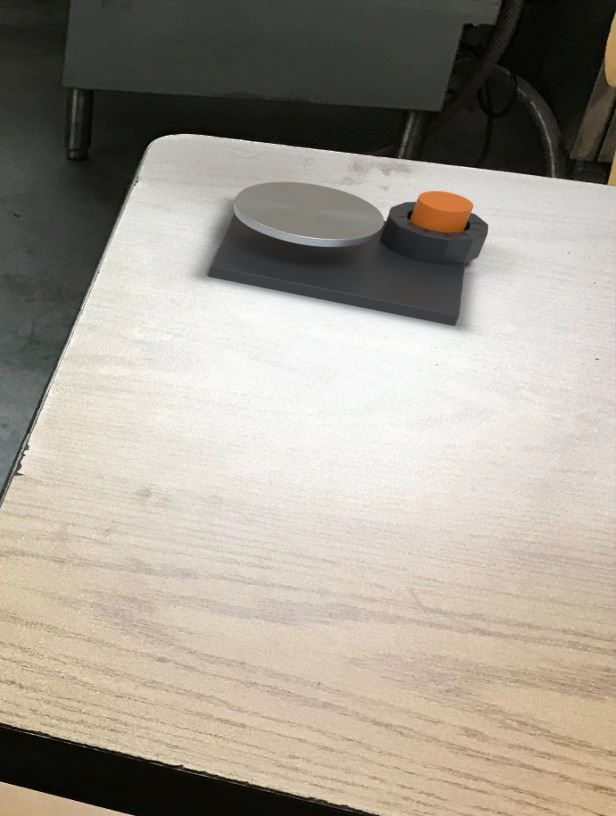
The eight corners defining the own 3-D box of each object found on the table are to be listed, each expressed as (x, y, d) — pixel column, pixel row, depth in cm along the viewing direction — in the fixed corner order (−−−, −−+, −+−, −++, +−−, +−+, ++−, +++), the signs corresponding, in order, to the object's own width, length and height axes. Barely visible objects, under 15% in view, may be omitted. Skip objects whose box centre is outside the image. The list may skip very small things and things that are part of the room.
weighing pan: (387, 205, 98) (390, 197, 97) (374, 259, 91) (378, 250, 90) (244, 180, 101) (247, 172, 100) (222, 230, 94) (224, 221, 93)
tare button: (465, 220, 97) (474, 196, 96) (462, 239, 94) (472, 215, 93) (411, 211, 98) (420, 187, 97) (407, 229, 95) (416, 205, 94)
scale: (470, 258, 99) (489, 212, 97) (461, 341, 90) (482, 292, 87) (236, 215, 104) (249, 169, 102) (204, 289, 95) (217, 240, 92)
